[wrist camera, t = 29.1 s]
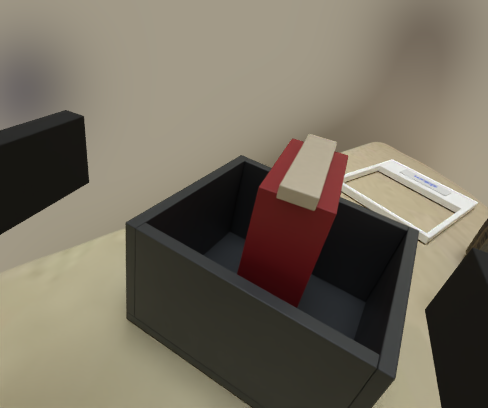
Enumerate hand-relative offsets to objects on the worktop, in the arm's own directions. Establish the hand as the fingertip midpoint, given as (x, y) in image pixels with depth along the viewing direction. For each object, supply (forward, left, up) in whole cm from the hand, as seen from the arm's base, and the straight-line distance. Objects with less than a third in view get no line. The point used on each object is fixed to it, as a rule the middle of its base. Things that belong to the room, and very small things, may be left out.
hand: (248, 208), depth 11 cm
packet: (0, +9, -14) cm, 17 cm away
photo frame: (+7, +41, -15) cm, 45 cm away
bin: (0, +9, -15) cm, 18 cm away
